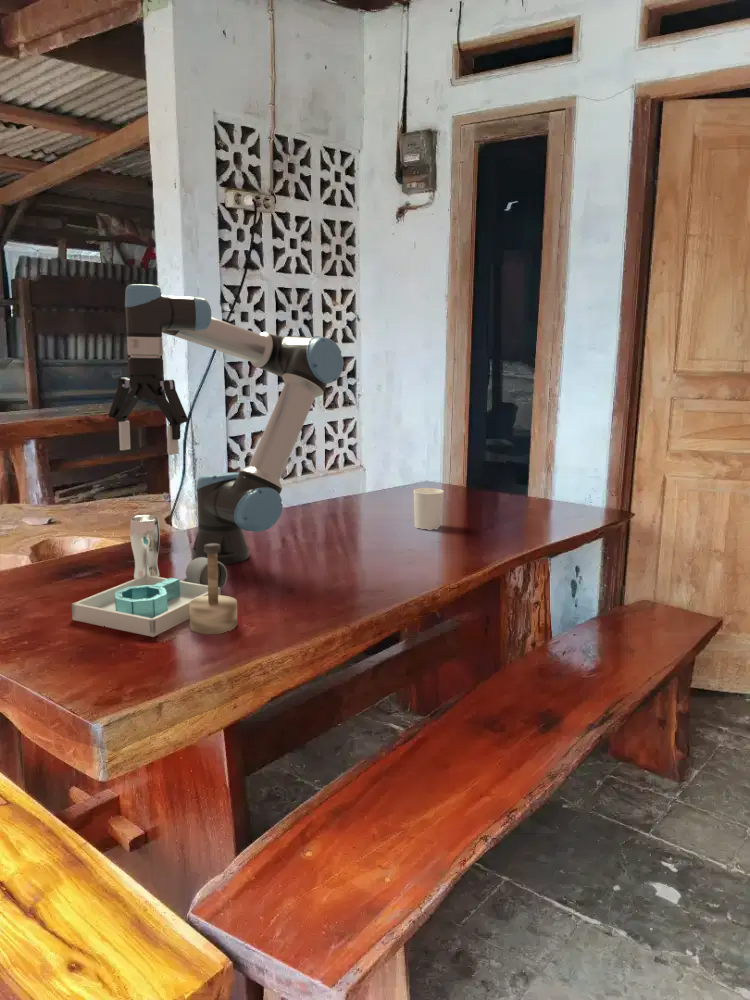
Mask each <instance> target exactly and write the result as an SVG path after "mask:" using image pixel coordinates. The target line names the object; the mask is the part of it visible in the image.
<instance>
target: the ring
mask: <svg viewBox="0 0 750 1000" xmlns="http://www.w3.org/2000/svg"><path fill="white" fill-rule="evenodd" d="M180 581H181V580H180V579H179V578H176V577H175V578H174V577H169V578H167V580H164V581H162V582H159V583H157V584H155V585H142V586H131V587H127V588H124V589H122V590H119V591H117V592H115V610H116V611H118V612H123V613H128V614H133V615H138V616H143V617H148V618H154V617H156V616H158V615H160V614H162V613H164V612H166V611H168V607H167V602H168V601H170V600H173V599H175V598H177V597H179V596H180Z"/></svg>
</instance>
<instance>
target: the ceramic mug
mask: <svg viewBox="0 0 750 1000" xmlns="http://www.w3.org/2000/svg"><path fill="white" fill-rule="evenodd" d="M217 563H218V587H219V588H220V591H221V590H223V588H224V587H225V586H226V583H227V580H228V570H227V567H226V566H225V564H222V563H221V562H219V561H217ZM185 576H186V578H184V579H182V581H185V582H190V583H196V584H202V585H208V564H207V558H205V557H200V558H196V559H194V560H193V559H192V560H191V561H190V562H189V563H188V564H187V566H186V569H185Z"/></svg>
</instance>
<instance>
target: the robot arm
mask: <svg viewBox="0 0 750 1000" xmlns="http://www.w3.org/2000/svg"><path fill="white" fill-rule="evenodd" d="M124 299H125V300H124V308H125V320H126V321H125V322H126V323H125V324H126V326H125V327H126V345H127V347H126V348H127V355H128V356H130V357H128V359H127V370H128V371H127V372H128V375H130V377H119V378H118V380H117V382H118V383H117V390H116V392H115V395H114V398H113V401H112V404H111V406H110V410H109V412H108V418H110V419H111V418H112V419H114V420H115V421H116V433H117V435H118V437H119V439H118V441H119V451H127V450H131V427H130V426H131V424H130V420H129V418H128V417H129V415H130V414H131V413H132V412H133V410H134V408H135V407H136V405H137V404H138V402H139V401H140V400H148V401H149V400H152V401H153V402H154V403H155V404H156V406H157V407H158V408H159V409H160V411H161V412H162V414H163V415H164V417H165V419H167V421H168V423H169V424H168V425H167V426H166V431H167V432H166V433H167V455H168V456H174V455H177V454H178V455H179V440H181V425H182V424H184V423H187V422H188V421H189V418H188V416H187V414H186V411H185V409H184V407H183V404H182V402H181V399H180V397H179V395H178V392H177V389H176V382H175V380H174V379H165V380H164V379H163V374H164V360H163V358H162V356H163V355H164V349H163V347H164V345H163V334H166V335H169V336H172V337H176V338H179V339H183V340H184V341H188V342H191V343H194V344H196V345H197V344H198V345H201V346H203V347H205V348H209V349H212V350H215V351H218V352H221V353H224V354H227V355H230V356H234V357H236V358H239V359H242V360H245V361H249V362H250V364H251V365H252V366H253V367H254V368H258V369H260V370H264V371H266V372H269V373H271V374H273V375H276V376H279V377H281V378H282V380H283V383H284V386H283V387H282V390H281V392H280V395H279V397H278V399H277V402H276V404H275V406H274V408H273V411H272V413H271V415H270V417H269V420H268V422H267V425H266V426H265V428H264V431H263V434H262V435H261V437H260V440H259V443H258V445H257V446H256V449H255V451H254V453H253V456H252V458H251V460H250V463H249V465H248V466H247V467H245V468H243V469H241V470H239V472H221V473H220V472H218V473H209V474H204V475H201V476H199V477H198V479H197V482H196V493H197V494H196V495H197V497H196V498H197V524H198V526H197V529H198V530H197V533H196V537H195V540H194V543H193V547H192V548H191V549H192V550H191V556H192V560H194V559H196V558H200V557H205V558H207V553H205V552H204V545H206V544H211V543H215V544H220V552H218V553H217V561H219V562H221V563H222V564H223V565H232V564H237V563H240V562H244V561H245V560H247V559H248V558H249V557H250V549H249V546H248V543H247V539H246V536H245V534H244V531H246V532H253V533H260V532H261V533H262V532H265V531H267V530H269V529H271V528H272V527H274V526H275V524H277V522H278V521H279V519H280V518H281V515H282V513H283V504H282V501H283V499H282V497H281V495H280V494H281V493H282V490H283V486H282V484H281V481H280V480H281V477H282V475H283V473H284V471H285V468H286V466H287V464H288V461H289V459H290V456H291V454H292V452H293V449H294V447H295V445H296V442H297V440H298V438H299V436H300V433H301V431H302V429H303V426H304V424H305V422H306V420H307V417H308V415H309V413H310V410H311V408H312V405H313V403H314V401H315V399H316V398H318V397H320V396H323V394H324V392H325V390H326V388H327V385H328V384H331V383H333V382H336V381H337V380H338V379H339V378H340V377H341V374H342V372H343V369H344V358H343V357H344V356H342V350H341V349H340V347H339V345H338V344H337V343H336V342H335V341H334V340H332V339H330V338H328V337H323V336H319V335H316V336H293V335H291V336H287V335H286V336H285V335H276V334H275V335H274V334H271V333H269V332H266V331H263V332H260V333H257V332H254V331H252V330H248V329H246V328H243V327H240V326H238V325H234V324H233V323H230V322H226V321H224V320H221V319H218V318H216V317H213V316H212V308H211V304H209V301H207V300H206V299H205V298H203V297H195V296H175V295H164V294H162V289H161V288H160V286H159V285H156V284H141V283H138V284H136V283H135V284H134V283H132V284H128V285H127V286H126V287H125V295H124ZM130 388H131V390H130ZM129 391H130V392H129ZM163 391H164V392H163ZM243 530H244V531H243Z"/></svg>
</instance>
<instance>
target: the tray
mask: <svg viewBox="0 0 750 1000" xmlns="http://www.w3.org/2000/svg"><path fill="white" fill-rule="evenodd" d="M167 579H168V578H166V577H161V576H159V577H156V576H150V575H143V576H141V577H138V578H136V579H135V578H133V579H131V580H128V581H126V582H124V583H121V584H119V585H117V586H114V587H111V588H108V589H106V590H103V591H101V592H98V593H96V594H93V595H91V596H89V597H86V598H83V599H80V600H79V601H75V602H73V603H71V612H72V613H71V615H72V617H71V618H72V621H76V622H80V623H81V622H82V623H86V624H91V625H95V626H100V627H104V626H105V627H104V628H109V629H113V630H117V631H118V630H119V631H122V632H127V633H132V634H138V635H142V636H147V637H152V638H154V637H156V636H158V635H160V634H162V633H164V632H166V631H167V630H170V629H171V628H173V627H176V626H177V625H180V624H182V623H184V622H185V621H188V620H190V607H189V604H190V602H191V601H192V600H194V599H196V598H199V597H203V596H208V585H202V584H196V583H190V582H185V581H183V580H180V596H179V597H177V598H175V599H173V600H170V601H168V602H167V607H168V611H166V612H164V613H162V614H160V615H158V616H156V617H154V618H148V617H143V616H138V615H133V614H128V613H123V612H118V611H116V610H115V592H117V591H119V590H122V589H124V588H127V587H131V586H142V585H155V584H157V583H159V582H162V581H164V580H167ZM218 595H221V590H220V588H219V587H218Z"/></svg>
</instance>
